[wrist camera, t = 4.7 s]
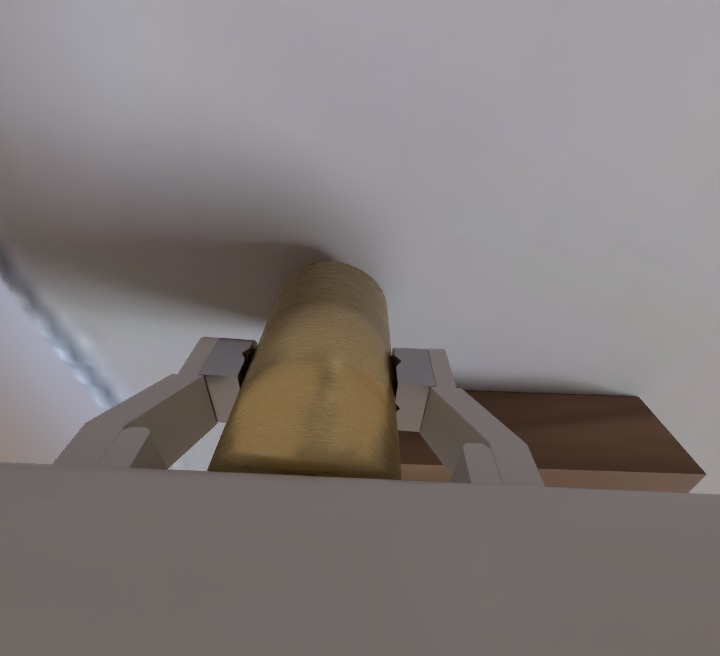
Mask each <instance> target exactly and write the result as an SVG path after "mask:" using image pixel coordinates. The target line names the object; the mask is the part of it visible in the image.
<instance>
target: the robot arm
mask: <svg viewBox="0 0 720 656" xmlns="http://www.w3.org/2000/svg"><path fill="white" fill-rule="evenodd" d="M256 348H257V342H256V341H255V340H245V339H231V338H215V337H203V338H201V339H200V340H199V341H198V343H197V345H196V346H195V348H194V349H193V351H192V352H191V354H190V356H189V357H188V359H187V360H186V362H185V363H184V365H183V367H182V368H181V370H180V371H179V373H178V374H171V375H170V376H168V377H166V378H164V379H162V380H161V381H159V382H157V383H155V384H154V385H152V386H150V387H148V388H147V389H145V390H143V391H141V392H139V393H138V394H136V395H134V396H132V397H131V398H129V399H127V400H125V401H124V402H122V403H120V404H118V405H117V406H115V407H113V408H111V409H109V410H108V411H106V412H104V413H102V414H101V415H99V416H97V417H95V418H94V419H92V420H90V421H88V422H86V423H85V424H84V426H83V427H82V428H81V429H80V431H79V432H78V433H77V434H76V435H75V437H74V438H73V439H72V440H71V442H70V443H69V444H68V445H67V447H66V448H65V449H64V450H63V451H62V453H61V454H60V455H59V456H58V458H57V459H56V460H55V461H54V463H53V464H33V463H10V462H0V656H720V495H719V494H696V493H674V492H652V491H630V490H608V489H586V488H563V487H545V485H544V483H543V480H542V478H541V476H540V473H539V471H538V469H537V466H536V464H535V462H534V459H533V457H532V455H531V452H530V450H529V448H528V446H527V444H526V443H525V442H524V441H522V440H521V439H520V438H519V437H518V436H517V435H515V434H514V433H513V432H512V431H511V430H510V429H508V428H507V427H506V426H505V425H504V424H502V423H501V422H500V421H499V420H498V419H497V418H495V417H494V416H493V415H492V414H491V413H490V412H488V411H487V410H486V409H485V408H484V407H483V406H481V405H480V404H479V403H478V402H477V401H476V400H474V399H473V398H472V397H471V396H470V395H469V394H467V393H466V392H465V391H464V390H463V389H462V388H456V385H455V382H454V379H453V375H452V372H451V368H450V365H449V361H448V358H447V354H446V351H445V350H444V349H414V348H393V350H392V356H391V357H392V369H393V379H394V392H395V403H396V414H397V426H398V430H400V431H413V432H420V434H421V436H422V437H423V438H424V440H425V441H426V442H427V444H428V445H429V446H430V448H431V449H432V450H433V452H434V453H435V454H436V456H437V457H438V458H439V460H440V461H441V462H442V464H443V465H444V466H445V468H446V469H447V470H448V472H449V473H450V474H451V476H452V477H451V480H450V482H432V481H410V480H388V479H366V478H343V477H321V476H299V475H277V474H255V473H233V472H211V471H189V470H167V469H168V468H169V467H170V466H171V465H172V464H173V463H175V462H176V461H177V460H178V459H179V458H180V457H181V456H182V455H183V454H184V453H186V452H187V451H188V450H189V449H190V448H191V447H192V446H193V445H194V444H195V443H197V442H198V441H199V440H200V439H201V438H202V437H203V436H204V435H205V434H206V433H208V432H209V431H210V430H211V429H212V428H213V427H214V426H215V425H216V424H217V422H225V423H227V420H228V418H229V415H230V413H231V410H232V408H233V405H234V403H235V400H236V398H237V395H238V393H239V390H240V388H241V385H242V383H243V380H244V378H245V375H246V373H247V370H248V368H249V366H250V363H251V361H252V358H253V356H254V353H255V351H256Z"/></svg>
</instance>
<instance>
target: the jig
mask: <svg viewBox="0 0 720 656" xmlns="http://www.w3.org/2000/svg"><path fill="white" fill-rule="evenodd" d="M465 392H466V393H467V394H469V395H470V396H471V397H472V398H473V399H474V400H476V401H477V402H478V403H479V404H480V405H481V406H483V407H484V408H485V409H486V410H487V411H488V412H490V413H491V414H492V415H493V416H494V417H495V418H497V419H498V420H499V421H500V422H501V423H502V424H504V425H505V426H506V427H507V428H508V429H510V430H511V431H512V432H513V433H514V434H515V435H517V436H518V437H519V438H520V439H521V440H522V441H524V442H525V443H526V444H527V446H528V448H529V450H530V452H531V455H532V457H533V459H534V462H535V464H536V466H537V469H538V471H539V473H540V476H541V478H542V480H543V483H544V485H545V487H563V488H586V489H608V490H630V491H652V492H674V493H688V492H689V491H690V490H691V489H692V488H693V487H694V486H695V485H696V484H697V483H698V482H699V481H700V480H701V479H702V478H703V477H704V476H705V475H706V473H705V472H704V471H703V470H702V469H701V468H700V466H699V465H698V464H697V463H696V462H695V461H694V460H693V458H692V457H691V456H690V455H689V454H688V453H687V452H686V450H685V449H684V448H683V447H682V446H681V445H680V444H679V442H678V441H677V440H676V439H675V438H674V437H673V436H672V434H671V433H670V432H669V431H668V430H667V429H666V428H665V426H664V425H663V424H662V423H661V422H660V421H659V420H658V418H657V417H656V416H655V415H654V414H653V413H652V412H651V410H650V409H649V408H648V407H647V406H646V405H645V404H644V402H643V401H642V400H641V399H640V398H639V397H622V396H594V395H567V394H539V393H511V392H484V391H465ZM398 437H399V449H400V461H401V472H402V480H410V481H432V482H450V480H451V477H452V476H451V474H450V473H449V472H448V470H447V469H446V468H445V466H444V465H443V464H442V462H441V461H440V460H439V458H438V457H437V456H436V454H435V453H434V452H433V450H432V449H431V448H430V446H429V445H428V444H427V442H426V441H425V440H424V438H423V437H422V436H421V434H420V432H413V431H400V430H398Z"/></svg>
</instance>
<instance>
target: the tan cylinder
mask: <svg viewBox="0 0 720 656" xmlns="http://www.w3.org/2000/svg"><path fill="white" fill-rule="evenodd" d="M207 471H211V472H233V473H255V474H277V475H299V476H321V477H343V478H366V479H388V480H402V472H401V461H400V449H399V437H398V426H397V414H396V403H395V392H394V379H393V369H392V357H391V345H390V333H389V321H388V310H387V302H386V299H385V296H384V294H383V291H382V290H381V288H380V287H379V285H378V284H377V283H376V282H375V280H374V279H372V278H371V277H370V276H369V275H368V274H366V273H365V272H363V271H362V270H360V269H358V268H356V267H353V266H351V265H348V264H344V263H339V262H319V263H314V264H310V265H308V266H305V267H303V268H301V269H299V270H297V271H296V272H294V273H293V274H292V275H291V276H290V277H289V278H288V279H287V280H286V281H285V282H284V284H283V285H282V287H281V289H280V291H279V293H278V296H277V298H276V301H275V303H274V306H273V308H272V311H271V313H270V316H269V318H268V321H267V323H266V326H265V328H264V331H263V333H262V336H261V338H260V341H259V343H258V346H257V348H256V351H255V353H254V356H253V358H252V361H251V363H250V366H249V368H248V370H247V373H246V375H245V378H244V380H243V383H242V385H241V388H240V390H239V393H238V395H237V398H236V400H235V403H234V405H233V408H232V410H231V413H230V415H229V418H228V420H227V423H226V425H225V428H224V430H223V433H222V435H221V438H220V440H219V443H218V445H217V447H216V450H215V452H214V455H213V457H212V460H211V462H210V465H209V467H208V470H207Z"/></svg>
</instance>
